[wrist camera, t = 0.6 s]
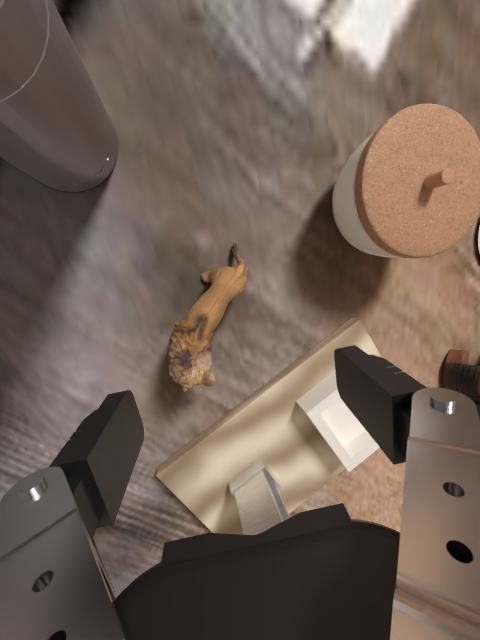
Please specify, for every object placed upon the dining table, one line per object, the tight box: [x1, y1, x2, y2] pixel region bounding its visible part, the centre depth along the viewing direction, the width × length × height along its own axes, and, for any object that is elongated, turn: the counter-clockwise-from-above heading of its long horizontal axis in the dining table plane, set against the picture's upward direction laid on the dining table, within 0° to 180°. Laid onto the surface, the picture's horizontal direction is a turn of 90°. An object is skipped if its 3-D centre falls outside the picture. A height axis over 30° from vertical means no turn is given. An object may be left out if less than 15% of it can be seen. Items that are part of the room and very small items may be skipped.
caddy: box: [296, 371, 379, 472], centre depth 34 cm, size 10×10×3 cm
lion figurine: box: [168, 243, 248, 391], centre depth 27 cm, size 15×5×9 cm, turn 157°
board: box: [156, 318, 382, 535], centre depth 35 cm, size 16×30×2 cm, turn 126°
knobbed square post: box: [229, 458, 290, 535], centre depth 29 cm, size 4×5×11 cm
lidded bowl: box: [332, 104, 480, 258], centre depth 28 cm, size 13×13×11 cm
